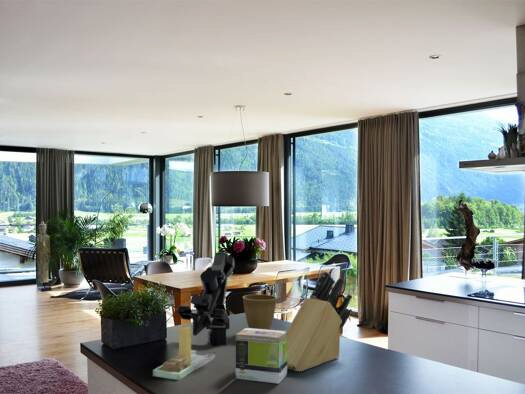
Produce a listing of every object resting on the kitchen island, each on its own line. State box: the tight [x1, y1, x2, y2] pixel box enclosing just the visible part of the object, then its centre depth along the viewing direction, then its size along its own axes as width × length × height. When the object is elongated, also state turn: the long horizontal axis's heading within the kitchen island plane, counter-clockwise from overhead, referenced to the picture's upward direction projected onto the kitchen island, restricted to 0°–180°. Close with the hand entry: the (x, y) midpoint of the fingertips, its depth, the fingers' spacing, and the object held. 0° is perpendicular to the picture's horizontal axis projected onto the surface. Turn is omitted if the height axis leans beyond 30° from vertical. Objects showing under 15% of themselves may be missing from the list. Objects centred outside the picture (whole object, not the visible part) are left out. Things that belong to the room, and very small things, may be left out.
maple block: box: [170, 355, 187, 372], centre depth 166 cm, size 4×4×4 cm
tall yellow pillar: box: [178, 325, 192, 367], centre depth 170 cm, size 4×5×13 cm
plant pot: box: [242, 294, 278, 330], centre depth 219 cm, size 15×15×16 cm
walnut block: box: [162, 358, 181, 373], centre depth 162 cm, size 4×4×4 cm
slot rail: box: [188, 349, 216, 372], centre depth 175 cm, size 16×10×3 cm, turn 159°
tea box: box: [235, 327, 288, 384], centre depth 164 cm, size 15×10×15 cm, turn 71°
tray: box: [152, 364, 194, 381], centre depth 163 cm, size 10×10×3 cm
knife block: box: [286, 271, 353, 373], centre depth 183 cm, size 11×35×31 cm, turn 137°
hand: (194, 335), depth 176 cm, fingers closed
